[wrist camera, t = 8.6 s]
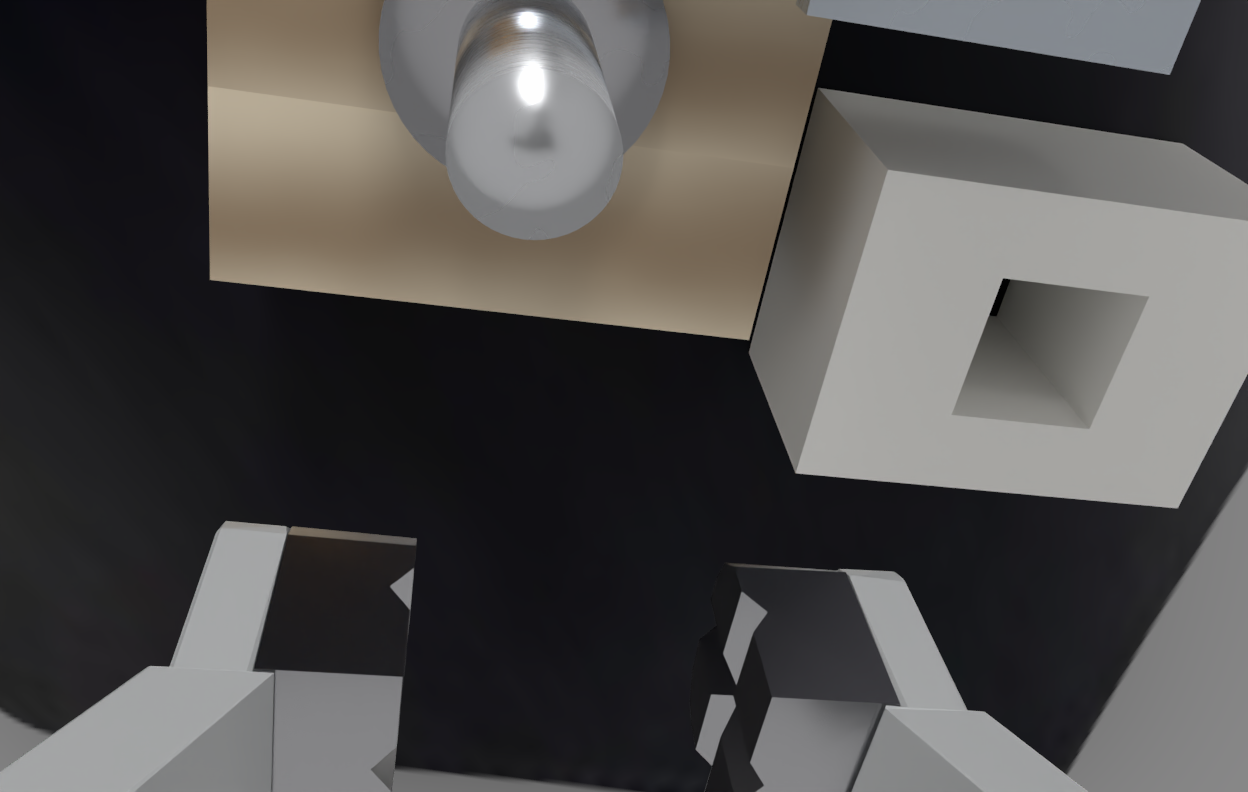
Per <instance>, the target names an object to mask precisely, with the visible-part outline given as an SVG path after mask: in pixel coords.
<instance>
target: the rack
mask: <svg viewBox="0 0 1248 792" xmlns="http://www.w3.org/2000/svg"><path fill="white" fill-rule="evenodd" d="M1003 278H1005V279H1011V280H1010V282H1009V285H1008V287H1007V290H1006V293H1005V295H1004V298H1003V301H1002V303H1001V306H1000V309H999V311H998V314H997V316H989V314H990V311H991V309H992V306H993V303H994V301H995V298H996V295H997V293H998V290H999V287H1000V285H1001V282H1002V279H1003ZM749 355H750V357H751V360H752V363H753V365H754V368H755V370H756V373H757V375H758V378H759V381H760V383H761V386H762V388H763V391H764V393H765V396H766V398H767V401H768V404H769V406H770V409H771V411H772V414H773V416H774V419H775V422H776V424H777V427H778V429H779V432H780V434H781V437H782V439H783V442H784V445H785V447H786V450H787V452H788V455H789V457H790V460H791V463H792V465H793V468H794V470H795V473H799V474H810V475H820V476H831V477H842V478H853V479H864V480H875V481H886V482H897V483H907V484H918V485H929V486H940V487H951V488H962V489H973V490H984V491H995V492H1005V493H1016V494H1027V495H1038V496H1049V497H1060V498H1071V499H1082V500H1093V501H1103V502H1114V503H1125V504H1136V505H1147V506H1158V507H1169V508H1178V506H1179V505H1180V503H1181V501H1182V499H1183V497H1184V495H1185V493H1186V491H1187V489H1188V487H1189V485H1190V483H1191V482H1192V480H1193V478H1194V476H1195V474H1196V472H1197V470H1198V468H1199V466H1200V464H1201V462H1202V460H1203V458H1204V457H1205V455H1206V453H1207V451H1208V449H1209V447H1210V445H1211V443H1212V441H1213V439H1214V437H1215V435H1216V434H1217V432H1218V430H1219V428H1220V426H1221V424H1222V422H1223V420H1224V418H1225V416H1226V414H1227V412H1228V410H1229V409H1230V407H1231V405H1232V403H1233V401H1234V399H1235V397H1236V395H1237V393H1238V391H1239V389H1240V387H1241V386H1242V384H1243V382H1244V380H1245V378H1246V376H1247V374H1248V185H1247V184H1246V183H1244V182H1243V181H1241V180H1240V179H1238V178H1236V177H1235V176H1233V175H1232V174H1230V173H1228V172H1227V171H1225V170H1224V169H1222V168H1221V167H1219V166H1217V165H1216V164H1214V163H1213V162H1211V161H1209V160H1208V159H1206V158H1205V157H1203V156H1202V155H1200V154H1198V153H1197V152H1195V151H1194V150H1192V149H1190V148H1189V147H1187V146H1186V145H1184V144H1182V143H1176V142H1169V141H1163V140H1156V139H1150V138H1143V137H1136V136H1130V135H1123V134H1117V133H1110V132H1104V131H1097V130H1091V129H1084V128H1078V127H1071V126H1065V125H1058V124H1052V123H1045V122H1039V121H1032V120H1026V119H1019V118H1013V117H1006V116H999V115H993V114H986V113H980V112H973V111H967V110H960V109H954V108H947V107H941V106H934V105H928V104H921V103H915V102H908V101H902V100H895V99H889V98H882V97H876V96H869V95H862V94H856V93H849V92H843V91H836V90H830V89H823V88H818V90H817V94H816V98H815V101H814V105H813V109H812V113H811V117H810V121H809V124H808V128H807V132H806V136H805V140H804V143H803V147H802V151H801V155H800V159H799V163H798V166H797V170H796V174H795V178H794V182H793V186H792V189H791V193H790V197H789V201H788V205H787V208H786V212H785V216H784V220H783V224H782V228H781V231H780V235H779V239H778V243H777V247H776V250H775V254H774V258H773V262H772V266H771V270H770V273H769V277H768V281H767V285H766V289H765V293H764V296H763V300H762V304H761V308H760V312H759V315H758V319H757V323H756V327H755V331H754V335H753V338H752V342H751V346H750V350H749Z"/></svg>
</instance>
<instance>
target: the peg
mask: <svg viewBox="0 0 1248 792" xmlns="http://www.w3.org/2000/svg"><path fill="white" fill-rule="evenodd" d="M379 57H380V64H381V71H382V75H383V79H384V82H385V86H386V89H387V92H388V94H389V97H390V99H391V102H392V104H393V107H394V108H395V110H396V112H397V114H398V115H399V117H400V119H401V121H402V123H403V124H404V125H405V127H406V128H407V129H408V131H409V132H410V133H411V135H412V136H413V138H414V139H415V140H416V141H417V142H418V143H419V144H420V145H421V146H422V147H423V148H424V149H425V150H426V151H427V152H428V153H429V154H430V155H431V156H433V157H434V158H435V159H436V160H438V161H439V162H440V163H441V164H443V165H444V166H446V167H447V172H448V176H449V180H450V182H451V185H452V187H453V190H454V191H455V193H456V195H457V197H458V199H459V200H460V201H461V203H462V204H463V205H464V207H465V208H466V209H467V210H468V211H469V212H470V213H471V214H472V215H473V217H475V218H476V219H477V220H478V221H480V222H481V223H482V224H484V225H485V226H487V227H489V228H490V229H492V230H494V231H496V232H499V233H501V234H503V235H507V236H510V237H513V238H518V239H524V240H546V239H552V238H557V237H560V236H564V235H567V234H569V233H571V232H574V231H576V230H578V229H580V228H581V227H583V226H585V225H586V224H588V223H589V222H590V221H591V220H593V219H594V218H595V217H596V216H597V215H598V214H599V213H600V212H601V211H602V210H603V209H604V208H605V206H606V205H607V204H608V202H609V201H610V199H611V198H612V196H613V194H614V192H615V190H616V188H617V185H618V183H619V180H620V176H621V172H622V166H623V154H624V153H625V152H626V151H627V150H628V149H629V148H630V147H631V146H632V145H633V144H634V143H635V142H636V141H637V140H638V138H639V137H640V135H641V134H642V133H643V131H644V130H645V129H646V127H647V126H648V124H649V122H650V120H651V119H652V117H653V115H654V113H655V111H656V109H657V107H658V104H659V102H660V99H661V97H662V94H663V91H664V87H665V84H666V80H667V76H668V69H669V61H670V33H669V26H668V18H667V14H666V11H665V7H664V3H663V0H384V3H383V7H382V11H381V17H380V25H379Z"/></svg>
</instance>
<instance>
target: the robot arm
mask: <svg viewBox="0 0 1248 792" xmlns="http://www.w3.org/2000/svg"><path fill="white" fill-rule="evenodd" d="M416 544H417V539H416V538H406V537H395V536H385V535H375V534H365V533H354V532H344V531H334V530H324V529H313V528H303V527H293V526H292V528H291V529H290V528H288V527H286V526H276V525H264V524H253V523H241V522H229V521H225V523H224V524H223V525H222V526H221V527H220V528H219V530H218V531H217V532H216V534H215V537H214V540H213V543H212V546H211V549H210V552H209V555H208V558H207V560H206V563H205V566H204V569H203V572H202V575H201V578H200V581H199V584H198V586H197V589H196V592H195V595H194V598H193V601H192V604H191V607H190V610H189V612H188V615H187V618H186V621H185V624H184V627H183V630H182V633H181V635H180V638H179V641H178V644H177V647H176V650H175V653H174V656H173V659H172V661H171V664H170V667H159V666H148V667H147V668H145V669H144V670H143V671H141V672H140V673H138V674H137V675H136V676H134V677H133V678H131V679H130V680H128V681H127V682H126V683H124V684H123V685H121V686H120V687H119V688H117V689H116V690H114V691H113V692H112V693H110V694H109V695H107V696H106V697H105V698H103V699H102V700H100V701H99V702H97V703H96V704H95V705H93V706H92V707H90V708H89V709H88V710H86V711H85V712H83V713H82V714H81V715H79V716H78V717H76V718H75V719H74V720H72V721H71V722H69V723H68V724H66V725H65V726H64V727H62V728H61V729H59V730H58V731H57V732H55V733H54V734H52V735H51V736H50V737H48V738H47V739H45V740H44V741H43V742H41V743H40V744H38V745H37V746H35V747H34V748H33V749H31V750H30V751H28V752H27V753H26V754H24V755H23V756H21V757H20V758H19V759H17V760H16V761H14V762H13V763H12V764H10V765H9V766H7V767H6V768H5V769H3V770H2V771H0V792H392V785H393V776H394V767H395V757H396V748H397V738H398V729H399V718H400V709H401V699H402V690H403V680H404V670H405V659H406V648H407V637H408V630H409V619H410V608H411V598H412V587H413V576H414V566H415V555H416ZM711 604H712V608H713V612H714V617H715V621H716V626H715V627H714V628H713V629H711V630H710V631H709V632H708V633H707V634H705V635H704V636H703V637H702V638H700V640H699V644H698V648H697V652H696V656H695V661H694V665H693V669H692V680H691V693H690V711H691V726H692V731H693V737H694V743H695V748H696V750H697V751H698V752H699V753H700V754H701V755H702V756H703V757H704V758H705V759H706V760H707V761H708V762H709V763H710V764H711V765H712V768H711V772H710V775H709V778H708V782H707V785H706V789H705V792H1088V791H1087V790H1085V789H1084V788H1083V787H1081V786H1080V785H1079V784H1078V783H1076V782H1075V781H1074V780H1072V779H1071V778H1070V777H1068V776H1067V775H1066V774H1065V773H1063V772H1062V771H1061V770H1059V769H1058V768H1057V767H1056V766H1054V765H1053V764H1052V763H1050V762H1049V761H1048V760H1046V759H1045V758H1044V757H1043V756H1041V755H1040V754H1039V753H1037V752H1036V751H1035V750H1034V749H1032V748H1031V747H1030V746H1028V745H1027V744H1026V743H1024V742H1023V741H1022V740H1021V739H1019V738H1018V737H1017V736H1015V735H1014V734H1013V733H1012V732H1010V731H1009V730H1008V729H1006V728H1005V727H1004V726H1002V725H1001V724H1000V723H999V722H997V721H996V720H995V719H993V718H992V717H991V716H989V715H988V714H987V713H986V712H982V711H968V710H967V708H966V706H965V704H964V702H963V700H962V698H961V696H960V694H959V692H958V690H957V688H956V686H955V684H954V682H953V679H952V677H951V675H950V673H949V671H948V669H947V667H946V665H945V663H944V661H943V659H942V657H941V655H940V653H939V651H938V649H937V647H936V644H935V642H934V640H933V638H932V636H931V634H930V632H929V630H928V628H927V626H926V624H925V622H924V620H923V618H922V616H921V614H920V611H919V609H918V607H917V605H916V603H915V601H914V599H913V597H912V595H911V593H910V591H909V589H908V587H907V585H906V583H905V581H904V579H903V578H902V577H900V576H899V575H898V574H896V573H895V572H891V571H870V570H850V569H838V570H837V571H834V570H821V569H807V568H793V567H779V566H765V565H751V564H737V563H724V565H723V567H722V569H721V570H720V572H719V574H718V576H717V579H716V582H715V586H714V589H713V593H712V596H711Z"/></svg>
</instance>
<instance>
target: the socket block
mask: <svg viewBox="0 0 1248 792" xmlns="http://www.w3.org/2000/svg"><path fill="white" fill-rule="evenodd" d="M796 2H797V0H663V3H664V7H665V11H666V14H667V18H668V26H669V33H670V61H669V69H668V76H667V80H666V84H665V87H664V91H663V94H662V97H661V99H660V102H659V104H658V107H657V109H656V111H655V113H654V115H653V117H652V119H651V120H650V122H649V124H648V126H647V127H646V129H645V130H644V131H643V133H642V134H641V135H640V137H639V138H638V140H637V141H636V142H635V143H634V144H633V145H632V146H631V147H630V148H629V149H628V150H627V151H626V152H625V153H624V154H623V166H622V172H621V176H620V180H619V183H618V185H617V188H616V190H615V192H614V194H613V196H612V198H611V199H610V201H609V202H608V204H607V205H606V206H605V208H604V209H603V210H602V211H601V212H600V213H599V214H598V215H597V216H596V217H595V218H594V219H593V220H591V221H590V222H589V223H588V224H586V225H585V226H583V227H581V228H580V229H578V230H576V231H574V232H571V233H569V234H567V235H564V236H560V237H557V238H552V239H546V240H524V239H518V238H513V237H510V236H507V235H503V234H501V233H499V232H496V231H494V230H492V229H490V228H489V227H487V226H485V225H484V224H482V223H481V222H480V221H478V220H477V219H476V218H475V217H473V215H472V214H471V213H470V212H469V211H468V210H467V209H466V208H465V207H464V205H463V204H462V203H461V201H460V200H459V199H458V197H457V195H456V193H455V191H454V190H453V187H452V185H451V182H450V180H449V176H448V172H447V167H446V166H444V165H443V164H441V163H440V162H439V161H438V160H436V159H435V158H434V157H433V156H431V155H430V154H429V153H428V152H427V151H426V150H425V149H424V148H423V147H422V146H421V145H420V144H419V143H418V142H417V141H416V140H415V139H414V138H413V136H412V135H411V133H410V132H409V131H408V129H407V128H406V127H405V125H404V124H403V123H402V121H401V119H400V117H399V115H398V114H397V112H396V110H395V108H394V107H393V104H392V102H391V99H390V97H389V94H388V92H387V89H386V86H385V82H384V79H383V75H382V71H381V64H380V57H379V25H380V17H381V11H382V7H383V3H384V0H207V59H208V144H209V228H210V280H217V281H226V282H235V283H244V284H253V285H262V286H271V287H279V288H288V289H297V290H306V291H315V292H324V293H333V294H342V295H351V296H360V297H369V298H378V299H387V300H395V301H404V302H413V303H422V304H431V305H440V306H449V307H458V308H467V309H476V310H485V311H494V312H503V313H511V314H520V315H529V316H538V317H547V318H556V319H565V320H574V321H583V322H592V323H601V324H610V325H619V326H627V327H636V328H645V329H654V330H663V331H672V332H681V333H690V334H699V335H708V336H717V337H726V338H735V339H744V340H749V338H750V334H751V330H752V327H753V323H754V319H755V315H756V311H757V307H758V303H759V300H760V296H761V292H762V288H763V284H764V280H765V277H766V273H767V269H768V265H769V261H770V257H771V253H772V250H773V246H774V242H775V238H776V234H777V230H778V227H779V223H780V219H781V215H782V211H783V207H784V204H785V200H786V196H787V192H788V188H789V184H790V180H791V177H792V173H793V169H794V165H795V161H796V157H797V154H798V150H799V146H800V142H801V138H802V134H803V130H804V127H805V123H806V119H807V115H808V111H809V107H810V104H811V100H812V96H813V92H814V88H815V84H816V80H817V77H818V73H819V69H820V65H821V61H822V57H823V54H824V50H825V46H826V42H827V38H828V34H829V30H830V27H831V23H832V19H827V18H821V17H815V16H809V15H806V14H805V13H804V12H803V11H802V10H801V9H800V8H799V7H798V6H797V5H796Z"/></svg>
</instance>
